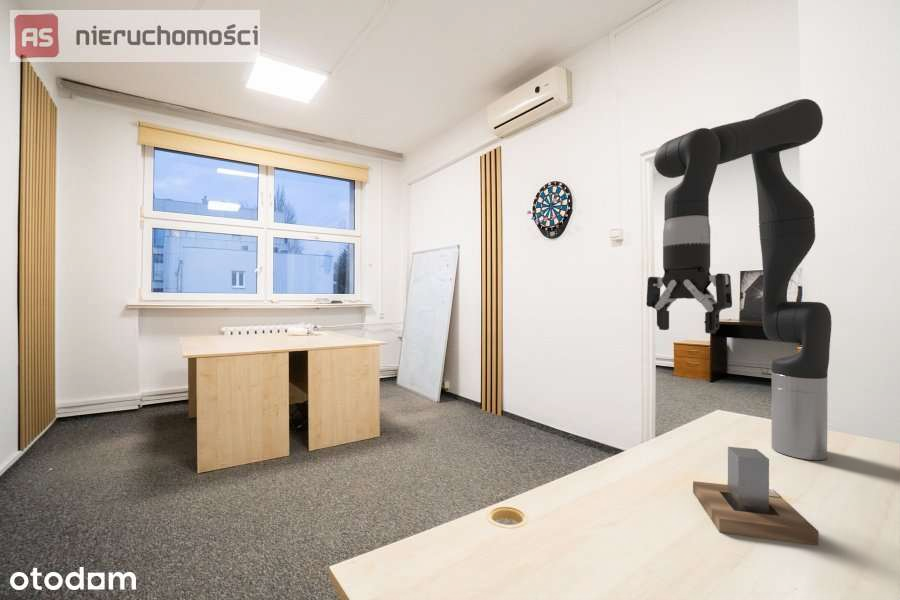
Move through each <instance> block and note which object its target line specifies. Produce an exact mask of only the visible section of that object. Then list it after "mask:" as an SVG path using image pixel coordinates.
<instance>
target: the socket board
mask: <svg viewBox="0 0 900 600" xmlns="http://www.w3.org/2000/svg"><path fill="white" fill-rule="evenodd" d="M692 493H693V495H694V496H695V497H696V498H695V499H697V500H698V503H700V505H701V507H702V508H703V510H704V511H705V512H706V514H707V516H708V517H709V518H710V520H711V522H712V524H714V526H715V527H716V529H717V531H718V532H719V533H724V534H725V533H726V534H731V535H738V536H747V537H755V538H761V539H770V540H777V541H783V542H791V543H798V544H805V545H806V544H807V545H813V546H819V530H818V529H817V528H816V527H815V526H813V525H812V523H810V522H809V521H808V520H807V519H806V518H805V517H804V516H803V515H802V514H800V513H799V512H798V511H797V510H796V509H795V508H794V507H793V506H792V505H791V504H790V503H789V502H788V501H786V500H785V499H784V498H783V497H782V496H781V495H780V494H779V493H778V492H777V491H776V490H775V489H770V488H769V515H767V514H759V513H751V512H742V511H734V510H733V508H732V507H731V506H730V505H729V503H728V484H724V483H713V482H706V481H705V482H704V481H696V480H695V481H694V480H693V481H692Z"/></svg>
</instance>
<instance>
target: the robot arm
mask: <svg viewBox="0 0 900 600" xmlns="http://www.w3.org/2000/svg"><path fill="white" fill-rule="evenodd" d="M823 123H824V117H823V112H822V109H821V107H820V106H819V104H818V103H817V102H816V101H814V100H812V99H809V98H801V99H796V100H793V101H789V102H787V103H785V104H784V103H783V104H782V105H779V106H777V107H774V108H771V109H768V110H766V111H764V112H761V113H759V114H757V115H755V116H754V117H752V118H749V119H744V120H739V121H736V122H729V123H727V124H726V123H725V124H722V125H719V126H715V127H712V128H708V127H700V128H696V129H695V130H694V129H693V130H691V131H690V132H687V133H684V134H682V135H680V136H677V137H674V138H672V139H670V140H668V141H666V142H664V143H662V144H661V146H659V148H658V149H657V150H656V152H655V154H654V159H653V163H654V167H655V170H656V171H657V172H658V174H659V175H661V176H663V177H665V178H669V179H675V178H676V179H677V178H679V177H682V180H681V181H680V183H678V184H677V185H676V186H674V187H672V188H671V189H669V190H668V191H667V192H666V194H665V195H664V209H663V210H664V215H663V216H664V221H663V223H664V224H663V231H662V268H663V271H664V273H663V276H662V277H660V276H649V277H648V278H647V286H646V287H647V288H646V307H648V308H649V307H650V308H652V309H654V310H655V311H656V326H657V327H658V329H659V330H660V331H668V330H670V310H668V309H669V308H670V307H671V305H672V304H673V303H674V302H676V301H677V299H679V300H680V299H688V300H690V299H691V300H692V299H695V300H696V301H697V302H698V303H700V304H701V305H702V306H703V308H704V309H705V310H706V311H705V313H704V314H705V315H704V326H705V328H704V330H705V334H712V335H713V334H716V333H717V331H718V330H719V329H720V312H721V311H723V310H726V309H730V308H732V306H733V296H732V283H731V282H732V281H731V280H732V279H731V278H732V277H731V275H730V274H729V273H717V274H711V271H710V268H711V226H710V225H711V224H710V218H709V217H710V209H709V206H710V205H709V203H710V202H709V201H710V199H709V198H710V193H711V187H712V186H713V182H714V178H715V175H716V172H717V168H718V166H719V165H722V164H725V163H729V162H733V161H735V160H738V159H741V158H744V157H747V156H749V155H751V160H752V166H753V172H754V176H755V184H756V192H757V205H758V206H757V207H758V229H759V230H758V231H759V241H760V250H761V251H760V253H761V259H762V261H761V262H762V302H761V303H762V305H761V308H762V310H761V322H762V329H763V332H764V335H765V336H766V338H767V339H768V340H770V341H773V342H778V343H791V344H801V349H800V351H799V352H797V353H796V354H794V355H791V356H785V357H779V358H778V357H777V358H774V359H773V360H772V361H771V432H770V433H771V448H772V449H773V450H774V451H775V452H778V453H781V454H784V455H786V456H788V457H789V456H790V457H791V458H792V457H793V458H798V459H802V460H803V459H804V460H810V461H823V460H827V458H828V371H829V364H830V363H829V362H830V350H831V349H830V348H831V337H832V336H831V335H832V323H833V322H832V315H831V311H830V309H829V307H828V306H827V304H825V303H823V302H820V301H788V290H789V284H790V281H791V279H792V277H793V275H794V273H795V271H796V270H797V269H798V267H799V266H800V265H801V263H802V261H804V259H805V258H806V256H807V255H808V254H809V252H810V250H811V249H812V247H813V245H814V243H815V240H816V224H815V221H816V220H815V211H814V207H813V205H812V203H811V202H810V201H809V200H808V198H807V197H806V196H805V195H804V194H803V193H802V192H801V191H800V190H799V189H798V188H797V187H796V186H795V185H794V184H793V183H792V181H790V180H789V178H788V177H787V176H786V174H785V173H784V170H783V166H782V162H781V157H780V155H781V154H780V152H784V151H787V150H790V149H794V148H797V147H800V146H803V145H806V144H808V143H810V142H811V141H813V140H814V139H815V138H817V137H818V135H819V134H820V132H821V131H822V128H823ZM711 284H713V286H714V287H715V292H716V293H715V295H716V299H715V296H714V295H713V294H712V292H711V291H710V290H709V289H708V287H709V286H710V285H711ZM663 286H664V287H665V290H664V291H663V292H662V293H661V288H662V287H663Z"/></svg>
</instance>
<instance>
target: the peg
mask: <svg viewBox="0 0 900 600" xmlns="http://www.w3.org/2000/svg"><path fill="white" fill-rule="evenodd" d="M727 485H728V503H729V505H730V506H731V507H732V508H733V510H734V511H742V512H751V513H759V514H767V515H769V489H770V458H769V457H767V456H766V455H764V453H762V452H761V451H759V450H758V449H756V448H748V447H745V448H744V447H734V446H727Z"/></svg>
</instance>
